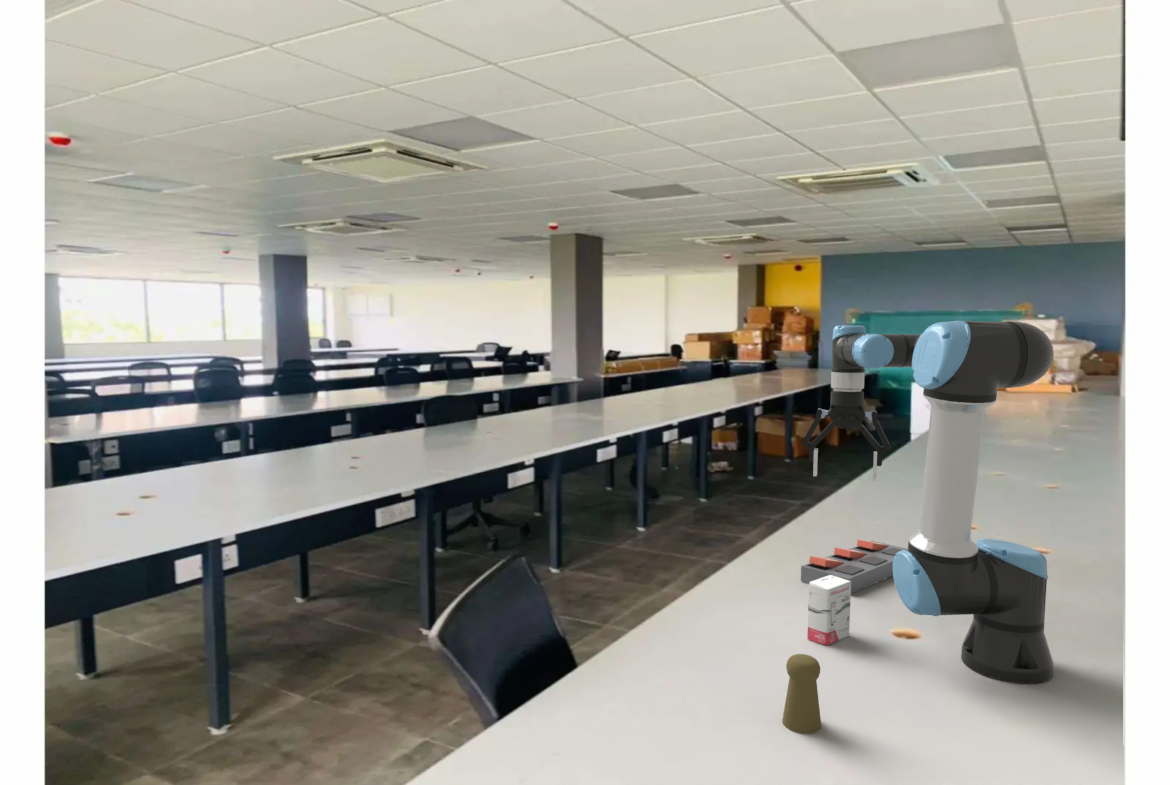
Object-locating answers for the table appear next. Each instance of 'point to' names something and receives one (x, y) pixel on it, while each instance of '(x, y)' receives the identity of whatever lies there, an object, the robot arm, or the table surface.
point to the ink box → (828, 609)
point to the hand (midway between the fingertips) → (844, 477)
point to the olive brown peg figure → (802, 695)
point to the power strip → (856, 567)
